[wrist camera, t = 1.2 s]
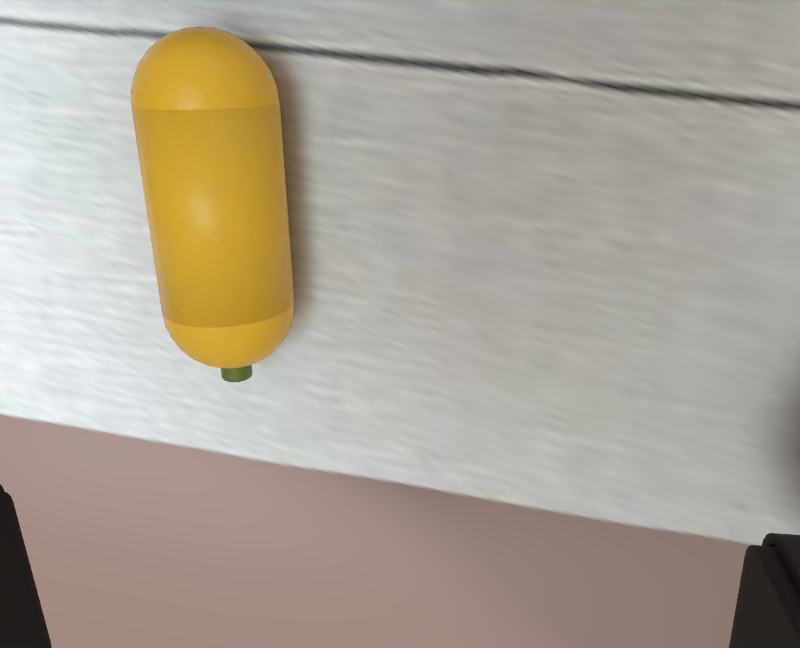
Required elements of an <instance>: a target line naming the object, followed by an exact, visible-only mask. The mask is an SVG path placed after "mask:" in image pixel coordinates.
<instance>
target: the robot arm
mask: <svg viewBox="0 0 800 648" xmlns="http://www.w3.org/2000/svg"><path fill="white" fill-rule="evenodd" d="M0 648H51V642H50V638H49V634H48V631H47V627H46V623H45V620H44V615H43V612H42V608H41V604H40V600H39V597H38V593H37V589H36V585H35V582H34V578H33V574H32V571H31V567H30V563H29V559H28V556H27V552H26V548H25V545H24V541H23V537H22V533H21V529H20V526H19V522H18V518H17V515H16V511H15V507H14V503H13V500H12V498H11V496H10V495H9V494H8V493H6V492H4V489H3V487H2V486H1V485H0ZM729 648H800V535H790V534H775V533H770V534H767V535H766V537H765V538H764V540H763V543H762V546H758V545H750V546H749V547H748V548H747V550H746V554H745V558H744V564H743V570H742V575H741V581H740V587H739V593H738V599H737V605H736V610H735V616H734V622H733V628H732V634H731V640H730V645H729Z"/></svg>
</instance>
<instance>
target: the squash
mask: <svg viewBox="0 0 800 648" xmlns="http://www.w3.org/2000/svg"><path fill="white" fill-rule="evenodd" d="M131 100H132V113H133V120H134V127H135V133H136V140H137V147H138V154H139V160H140V167H141V174H142V181H143V187H144V194H145V201H146V208H147V214H148V221H149V228H150V235H151V241H152V248H153V255H154V262H155V268H156V275H157V282H158V289H159V295H160V302H161V309H162V314H163V318H164V322H165V326H166V328H167V330H168V332H169V334H170V336H171V337H172V339H173V340H174V341H175V343H176V344H177V345H178V346H179V348H180V349H181V350H182V351H184V352H185V353H186V354H187V355H189V356H190V357H191V358H193V359H194V360H197V361H199V362H201V363H203V364H206V365H208V366H212V367H218V368H221V373H222V378H223V379H224V380H225V381H228V382H240V381H244V380H247V379H249V378H250V377H251V376H252V365H251V364H253V363H256V362H258V361H260V360H262V359H264V358H265V357H267V356H268V355H269V354H271V353H272V352H273V351H274V350H275V349H276V348H277V347H278V346H279V345H280V343H281V342H282V341H283V340H284V338H285V336H286V334H287V332H288V330H289V328H290V326H291V323H292V319H293V315H294V291H293V277H292V263H291V250H290V236H289V223H288V209H287V196H286V182H285V168H284V155H283V141H282V128H281V114H280V102H279V96H278V90H277V86H276V83H275V81H274V78H273V75H272V73H271V71H270V70H269V68H268V66H267V65H266V63H265V61H264V60H263V59H262V58H261V57H260V55H259V54H258V53H257V52H256V51H255V50H254V49H253V48H252V47H251V46H249V45H248V44H247V43H246V42H244V41H243V40H242V39H240V38H238V37H236V36H234V35H232V34H230V33H228V32H225V31H222V30H218V29H215V28H207V27H192V28H184V29H181V30H178V31H175V32H172V33H169V34H168V35H166V36H164V37H163V38H161V39H159V40H158V41H157V42H156V43H155V44H154V45H152V46H151V47H150V48H149V49H148V50H147V52H146V53H145V55H144V56H143V58H142V59H141V61H140V62H139V64H138V67H137V69H136V72H135V75H134V77H133V83H132V90H131Z"/></svg>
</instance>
